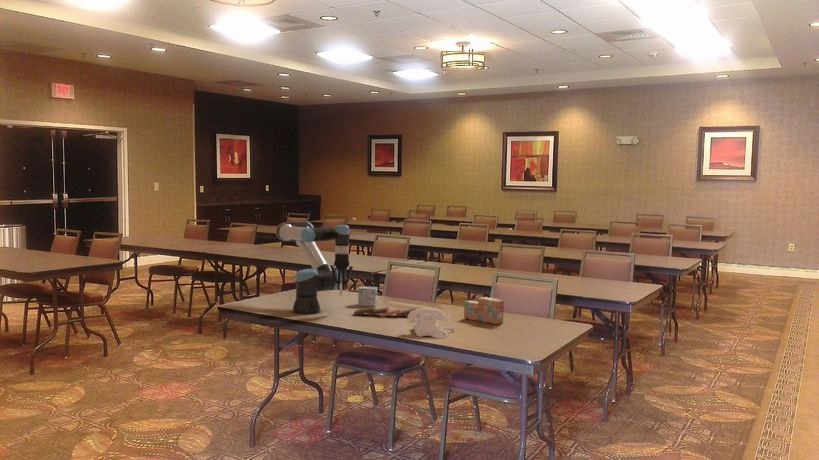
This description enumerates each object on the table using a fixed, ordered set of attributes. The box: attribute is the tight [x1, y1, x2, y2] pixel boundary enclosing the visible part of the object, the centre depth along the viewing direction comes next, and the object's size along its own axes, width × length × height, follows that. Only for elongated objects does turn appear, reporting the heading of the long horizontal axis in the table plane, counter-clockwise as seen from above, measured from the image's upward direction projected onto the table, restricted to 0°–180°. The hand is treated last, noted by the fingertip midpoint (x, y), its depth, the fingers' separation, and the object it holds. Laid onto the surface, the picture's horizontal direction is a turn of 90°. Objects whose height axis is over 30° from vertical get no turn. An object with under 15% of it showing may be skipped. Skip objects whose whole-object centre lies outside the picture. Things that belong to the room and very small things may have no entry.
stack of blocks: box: [463, 296, 505, 325], centre depth 344 cm, size 21×6×12 cm, turn 50°
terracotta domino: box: [380, 307, 403, 318], centre depth 350 cm, size 2×6×11 cm
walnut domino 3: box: [395, 307, 417, 318], centre depth 350 cm, size 2×6×11 cm
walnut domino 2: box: [366, 306, 390, 317], centre depth 351 cm, size 2×6×11 cm
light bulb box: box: [357, 286, 378, 307], centre depth 380 cm, size 11×7×11 cm, turn 84°
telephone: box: [406, 307, 457, 339], centre depth 311 cm, size 25×21×12 cm
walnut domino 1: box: [353, 306, 377, 316], centre depth 352 cm, size 2×6×11 cm
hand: (341, 295), depth 353 cm, fingers closed
